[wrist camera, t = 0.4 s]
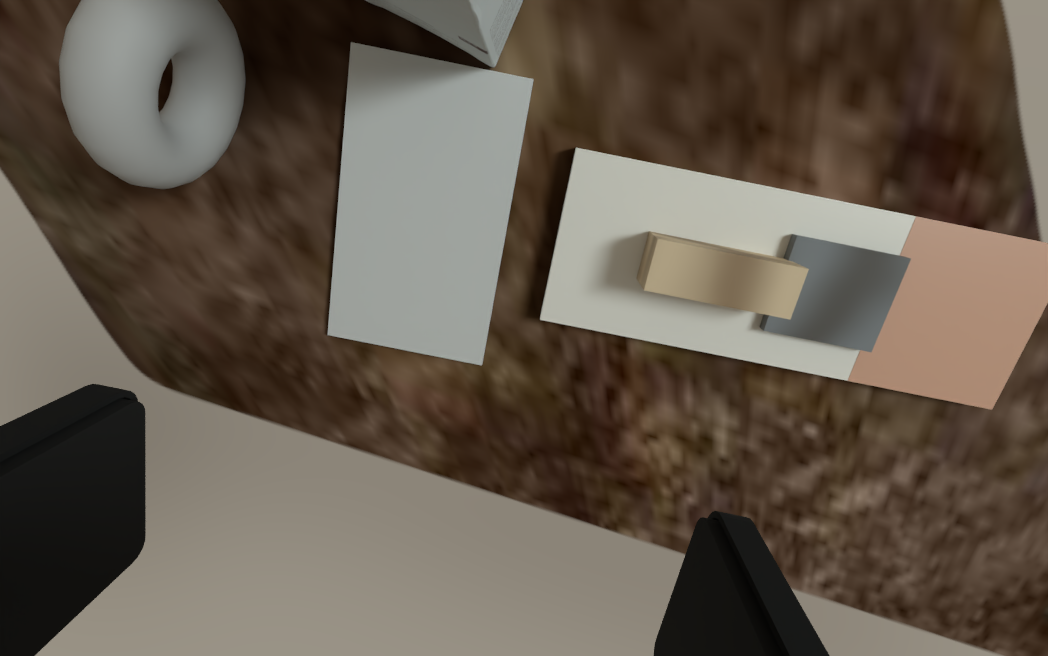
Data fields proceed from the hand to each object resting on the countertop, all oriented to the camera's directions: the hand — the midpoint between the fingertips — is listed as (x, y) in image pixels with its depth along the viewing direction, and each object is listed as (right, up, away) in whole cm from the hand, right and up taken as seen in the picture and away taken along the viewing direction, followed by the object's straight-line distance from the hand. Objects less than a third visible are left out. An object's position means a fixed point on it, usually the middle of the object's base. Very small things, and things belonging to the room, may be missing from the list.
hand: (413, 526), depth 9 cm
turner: (+16, +6, +22) cm, 28 cm away
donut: (-15, +17, +22) cm, 31 cm away
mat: (-4, +10, +23) cm, 26 cm away
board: (+18, +6, +23) cm, 30 cm away
